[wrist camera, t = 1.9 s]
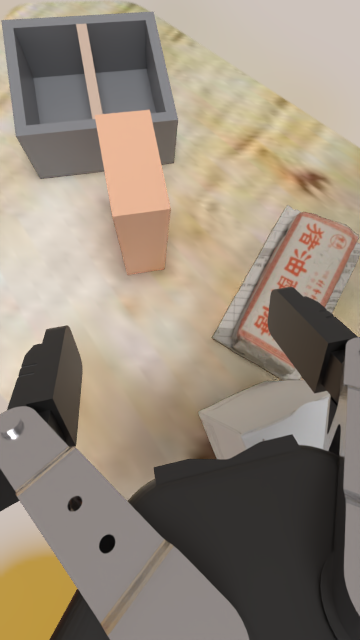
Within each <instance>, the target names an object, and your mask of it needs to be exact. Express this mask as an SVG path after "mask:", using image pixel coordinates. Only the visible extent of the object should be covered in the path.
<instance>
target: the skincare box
mask: <svg viewBox="0 0 360 640" xmlns="http://www.w3.org/2000/svg"><path fill="white" fill-rule="evenodd" d="M329 397H330V394H329V393H328V392H327V391H324V392H320V393H315V394H314V392H313V391H312V390H311V388H310V387H309V386H308V384H307V383H306V382H305V380H289V381H264V382H261V383H259V384H257V385H254V386H252V387H250V388H248V389H245V390H243V391H241V392H239V393H237V394H234V395H232V396H230V397H228V398H226V399H223V400H221V401H219V402H217V403H216V404H214V405H212V406H210V407H208V408H205V409H203V410H200V411H198V413H199V416H200V419H201V421H202V424H203V426H204V429H205V431H206V434H207V436H208V439H209V441H210V444H211V446H212V448H213V451H214V453H215V456H216V458H217V459H230V458H232V457H234V456H236V455H237V454H239V453H241V452H243V451H245V450H246V449H248V448H250V447H252V446H254V445H255V444H257V443H259V442H262V441H266V440H270V439H274V438H278V437H283V436H287V435H291V434H293V436H294V438H295V439H296V441H297V443H298V445H306V446H313V447H317V448H321V449H323V444H324V436H325V427H326V417H327V408H328V400H329Z"/></svg>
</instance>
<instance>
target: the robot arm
mask: <svg viewBox="0 0 360 640" xmlns="http://www.w3.org/2000/svg"><path fill="white" fill-rule="evenodd" d="M268 329H269V332H270V334H271V336H272V337H273V339H274V340H275V341H276V343H277V344H278V345H279V347H280V348H281V349H282V351H283V352H284V353H285V355H286V356H287V358H288V359H289V360H290V362H291V363H292V364H293V366H294V367H295V368H296V370H297V371H298V372H299V374H300V375H301V376H302V378H303V379H304V380H305V382H306V383H307V384H308V386H309V387H310V388H311V390H312V391H313V392H314V394H315V393H320V392H324V391H327V392H328V393H329V394H330V397H329V400H328V408H327V417H326V427H325V436H324V444H323V449H321V448H317V447H313V446H306V445H298V443H297V441H296V439H295V438H294V436H293V434H291V435H287V436H283V437H278V438H274V439H270V440H266V441H262V442H259V443H257V444H255V445H254V446H252V447H250V448H248V449H246V450H245V451H243V452H241V453H239V454H237V455H236V456H234V457H232V458H230V459H187V460H183V461H179V462H175V463H170V464H166V465H162V466H158V467H154V473H155V479H154V480H152V481H150V482H149V483H147V484H146V485H144V486H143V487H142V488H140V489H139V490H138V491H137V492H136V493H135V494H134V495H133V496H132V497H131V498H130V499H129V500H128V501H127V500H126V499H125V498H124V497H123V496H122V495H121V494H120V493H119V492H118V491H117V490H116V489H115V488H114V487H113V486H112V485H111V484H110V483H109V482H108V481H107V480H106V479H105V477H104V476H103V475H102V474H101V473H100V472H99V471H98V470H97V469H96V468H95V467H94V466H93V465H92V464H91V463H90V462H89V461H88V460H87V459H86V458H85V457H84V456H83V455H82V454H81V452H80V451H79V450H78V449H76V448H75V446H76V440H77V429H78V417H79V406H80V394H81V383H82V362H81V357H80V354H79V352H78V349H77V346H76V343H75V341H74V338H73V335H72V332H71V330H70V328H69V326H62V327H56V328H50V329H47V330H46V332H45V335H44V339H43V343H42V344H37V345H34V346H33V347H32V348H31V349H30V350H29V352H28V353H27V354H26V355H25V357H24V360H23V363H22V368H21V369H20V372H19V377H18V378H17V381H16V384H15V387H14V390H13V393H12V396H11V400H10V403H9V406H8V409H7V411H5V412H3V413H1V414H0V511H2V510H4V509H5V508H7V507H9V506H11V505H12V504H14V503H16V502H18V501H20V502H21V503H22V505H23V507H24V508H25V510H26V511H27V513H28V514H29V516H30V517H31V519H32V520H33V522H34V523H35V524H36V526H37V528H38V529H39V531H40V532H41V534H42V535H43V537H44V538H45V540H46V541H47V543H48V544H49V546H50V547H51V549H52V550H53V552H54V553H55V555H56V557H57V558H58V560H59V561H60V563H61V564H62V566H63V567H64V569H65V570H66V572H67V573H68V575H69V576H70V578H71V579H72V581H73V582H74V584H75V585H76V587H77V588H78V589H77V590H76V592H75V594H74V596H73V598H72V600H71V602H70V603H69V605H68V607H67V609H66V611H65V612H64V614H63V616H62V618H61V620H60V622H59V624H58V625H57V627H56V629H55V631H54V633H53V634H52V636H51V638H50V640H360V337H357V336H356V335H355V334H354V333H353V332H352V331H351V330H350V329H348V328H347V327H346V326H345V325H344V324H343V323H342V322H340V321H339V320H338V319H337V318H336V317H334V316H333V314H331V313H330V312H329V311H327V309H326V308H325V307H324V306H322V305H321V304H320V303H319V302H318V301H315V300H313V299H311V298H309V297H307V296H304V297H303V296H302V295H301V294H300V293H299V292H298V291H297V290H296V289H295V288H294V287H285V288H280V289H274V290H272V292H271V295H270V304H269V313H268Z"/></svg>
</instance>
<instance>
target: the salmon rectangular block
mask: <svg viewBox="0 0 360 640" xmlns="http://www.w3.org/2000/svg"><path fill="white" fill-rule="evenodd" d="M95 120H96V126H97V131H98V137H99V143H100V149H101V154H102V160H103V166H104V171H105V177H106V183H107V188H108V194H109V200H110V205H111V211H112V217H113V221H114V225H115V228H116V232H117V236H118V240H119V244H120V248H121V252H122V256H123V259H124V263H125V267H126V271H127V275H131V274H137V273H143V272H150V271H156V270H162V269H165V259H166V249H167V240H168V230H169V220H170V211H171V208H170V203H169V198H168V194H167V189H166V184H165V179H164V175H163V170H162V165H161V160H160V156H159V151H158V146H157V141H156V137H155V132H154V127H153V123H152V118H151V113H150V110H141V111H131V112H120V113H110V114H100V115H95Z"/></svg>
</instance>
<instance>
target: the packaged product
mask: <svg viewBox="0 0 360 640" xmlns="http://www.w3.org/2000/svg"><path fill="white" fill-rule="evenodd" d="M358 239H359V235H357V234H356V233H355V232H353V231H352V229H351V228H349V227H348V226H347V225H345V224H342V223H340V222H334V221H331V220H328V219H326V218H321V217H320V216H319V217H318V215H317V214H312V213H306V212H300V211H299V210H294V209H292V208H291V207H290V206H288V205H287V207H286V208H285V210H284V212H283V213H282V215H281V217H280V218H279V220H278V222H277V223H276V225H275V226H274V228H273V230H272V231H271V233H270V235H269V237H268V239H267V241H266V243H265V245H264V246H263V248H262V250H261V252H260V254H259V256H258V257H257V259H256V261H255V263H254V265H253V266H252V268H251V269H250V271H249V273H248V274H247V276H246V277H245V279H244V281H243V283H242V284H241V286H240V289H239V291H238V293H237V294H236V296H235V297H234V299H233V301H232V303H231V304H230V306H229V308H228V309H227V311H226V313H225V315H224V317H223V319H222V321H221V323H220V325H219V327H218V329H217V330H216V332H215V333H214V335H213V336H212V338H213V339H215V340H216V341H218V342H219V343H221V344H223V345H224V346H226V347H227V348H229V349H231V350H232V351H234V352H235V353H237V354H238V355H240V356H242V357H244V358H246V359H248V360H250V361H251V362H253V363H255V364H257V365H259V366H261V367H262V368H264V369H265V370H267V371H268V372H270V373H272V374H273V375H275V376H277V377H278V378H280V379H281V380H283V381H289V380H300V379H301V375H300V374H299V372H298V371H297V370H296V368H295V367H294V366H293V364H292V363H291V362H290V360H289V359H288V358H287V356H286V355H285V353H284V352H283V351H282V349H281V348H280V347H279V345H278V344H277V343H276V341H275V340H274V339H273V337H272V336H271V334H270V332H269V329H268V313H269V304H270V295H271V292H272V290H274V289H280V288H285V287H294V288H295V289H296V290H297V291H298V292H299V293H300V294H301V295H302V296H303V297H304V296H307V297H309V298H311V299H313V300H315V301H318V302H319V303H320V304H321V305H322V306H324V307H325V308H326V309H327V311H329V312H330V313H331V314H332V312H333V310H334V308H335V306H336V304H337V302H338V300H339V298H340V296H341V294H342V292H343V289H344V287H345V285H346V283H347V282H348V280H349V278H350V276H351V273H352V271H353V269H354V267H355V265H356V263H357V261H358V259H359V256H360V244H359V243H357V240H358Z"/></svg>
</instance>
